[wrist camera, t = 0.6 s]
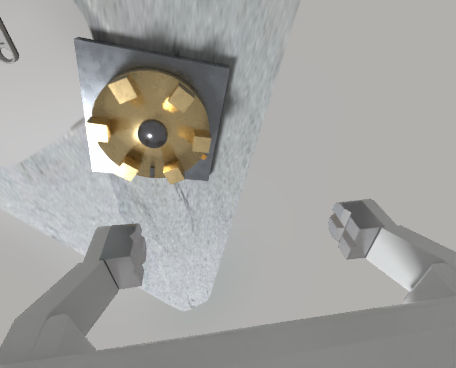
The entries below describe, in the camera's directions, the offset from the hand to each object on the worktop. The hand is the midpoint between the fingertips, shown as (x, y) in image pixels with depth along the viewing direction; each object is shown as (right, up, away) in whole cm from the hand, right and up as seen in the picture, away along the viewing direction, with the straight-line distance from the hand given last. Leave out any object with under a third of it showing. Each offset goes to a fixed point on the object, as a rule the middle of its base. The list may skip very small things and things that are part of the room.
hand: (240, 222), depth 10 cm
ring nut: (-14, +13, +36) cm, 41 cm away
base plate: (-14, +14, +38) cm, 43 cm away
